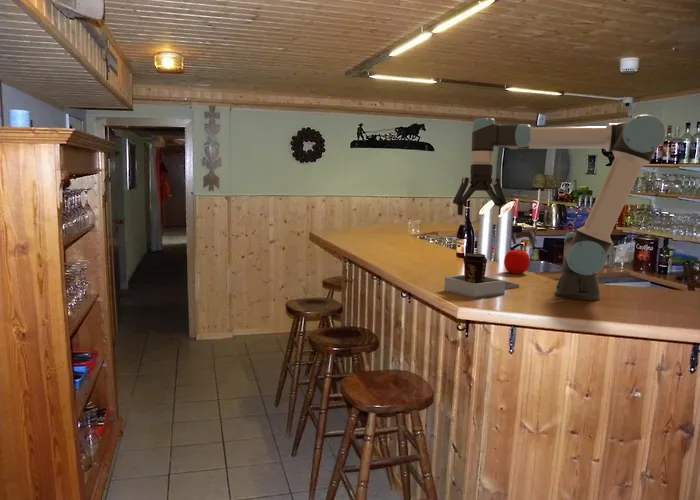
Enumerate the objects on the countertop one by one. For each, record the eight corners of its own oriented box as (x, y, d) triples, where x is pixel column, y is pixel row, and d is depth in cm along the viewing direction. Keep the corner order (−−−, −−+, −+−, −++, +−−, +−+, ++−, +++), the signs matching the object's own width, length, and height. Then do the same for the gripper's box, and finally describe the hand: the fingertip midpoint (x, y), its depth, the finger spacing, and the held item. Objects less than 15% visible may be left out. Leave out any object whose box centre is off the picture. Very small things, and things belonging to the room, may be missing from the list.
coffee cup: (463, 286, 202) (465, 252, 200) (486, 288, 199) (488, 253, 198) (459, 291, 194) (461, 255, 192) (483, 293, 191) (486, 256, 190)
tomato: (498, 271, 242) (500, 247, 240) (517, 270, 246) (519, 247, 245) (514, 276, 232) (516, 251, 231) (533, 275, 236) (535, 250, 235)
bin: (504, 294, 194) (505, 280, 194) (474, 298, 186) (475, 284, 185) (473, 286, 207) (473, 273, 206) (444, 290, 198) (444, 277, 198)
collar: (519, 287, 208) (519, 284, 208) (492, 291, 199) (492, 287, 199) (489, 280, 220) (489, 277, 220) (462, 283, 212) (462, 280, 212)
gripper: (505, 164, 198) (502, 223, 200) (444, 163, 190) (442, 223, 192) (518, 164, 191) (514, 225, 193) (455, 162, 182) (452, 225, 185)
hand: (478, 224), depth 193 cm, fingers open, 13 cm apart
